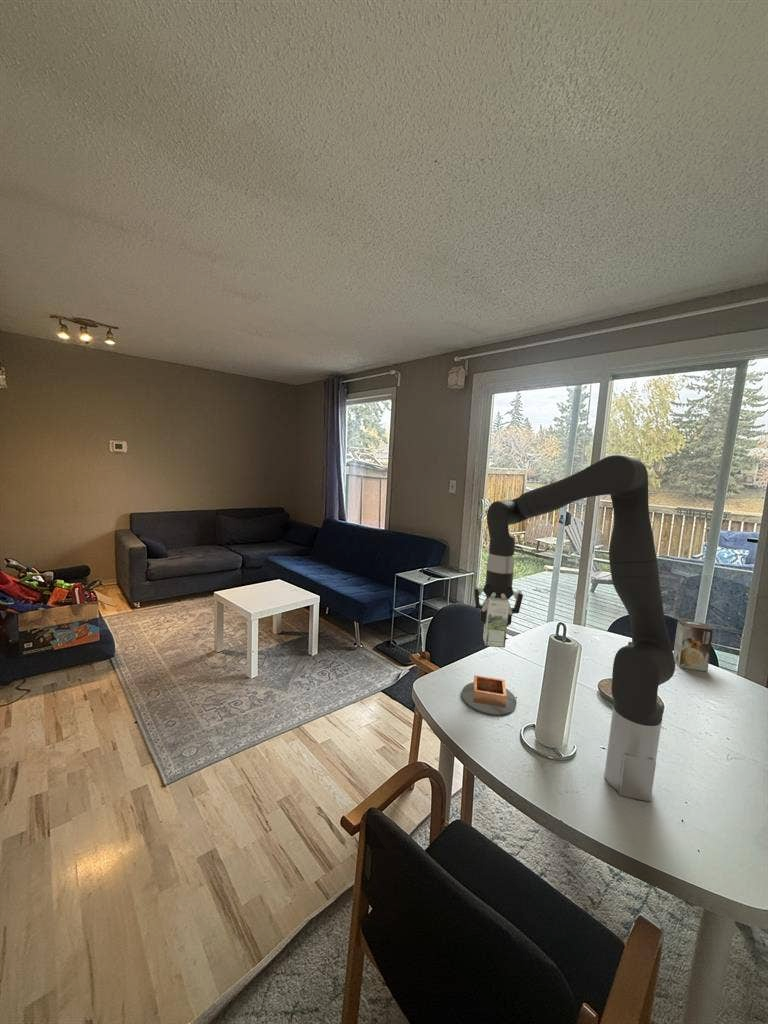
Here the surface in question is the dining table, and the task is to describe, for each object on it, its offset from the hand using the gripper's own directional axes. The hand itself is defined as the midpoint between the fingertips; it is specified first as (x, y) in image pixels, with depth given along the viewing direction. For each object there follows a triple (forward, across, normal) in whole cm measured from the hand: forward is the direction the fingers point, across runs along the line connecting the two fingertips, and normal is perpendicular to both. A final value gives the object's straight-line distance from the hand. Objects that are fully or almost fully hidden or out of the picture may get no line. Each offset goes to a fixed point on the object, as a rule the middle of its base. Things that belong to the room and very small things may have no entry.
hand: (495, 623), depth 120 cm
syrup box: (+6, 0, 0) cm, 6 cm away
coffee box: (+24, +74, +45) cm, 90 cm away
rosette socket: (+24, 0, 0) cm, 24 cm away
